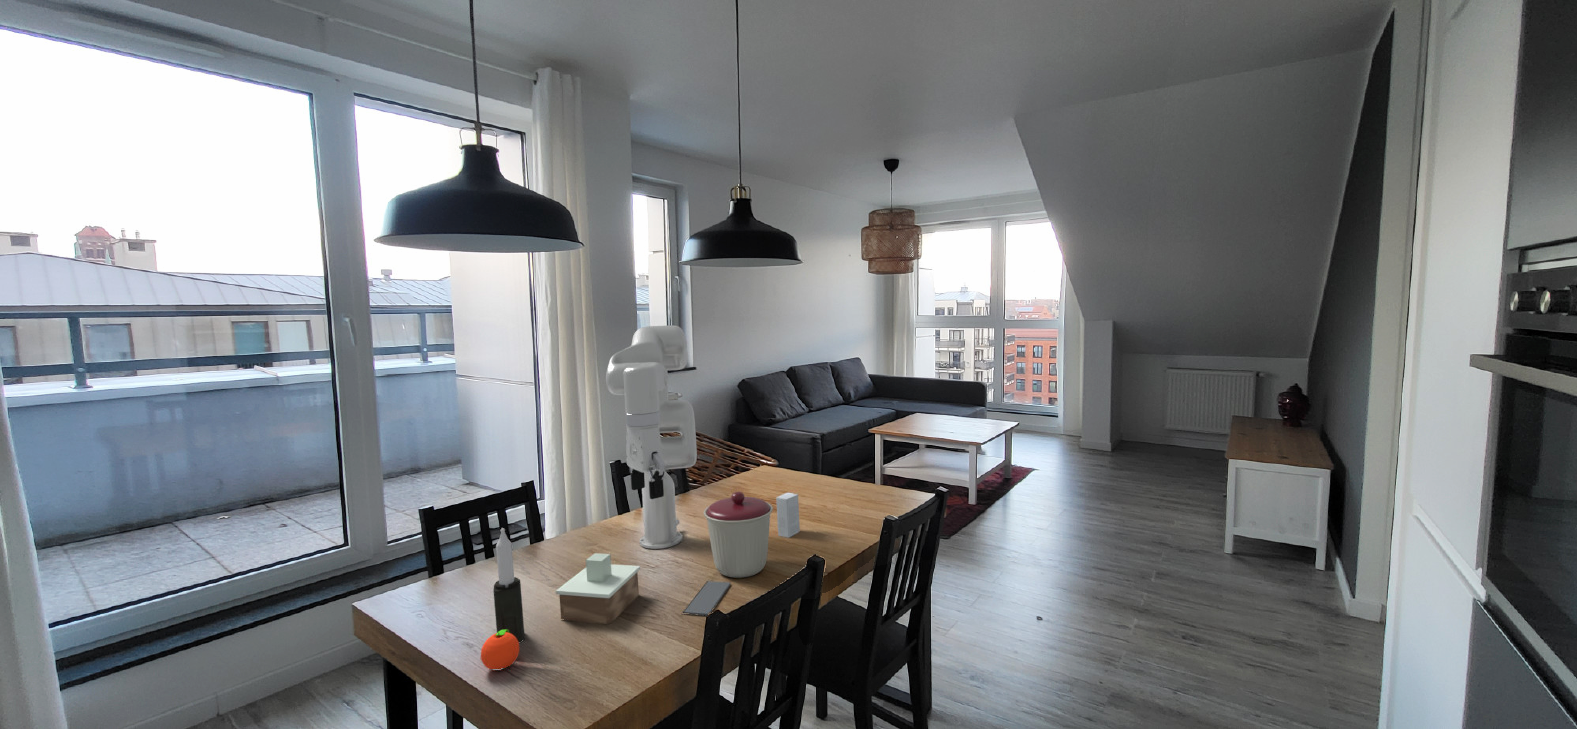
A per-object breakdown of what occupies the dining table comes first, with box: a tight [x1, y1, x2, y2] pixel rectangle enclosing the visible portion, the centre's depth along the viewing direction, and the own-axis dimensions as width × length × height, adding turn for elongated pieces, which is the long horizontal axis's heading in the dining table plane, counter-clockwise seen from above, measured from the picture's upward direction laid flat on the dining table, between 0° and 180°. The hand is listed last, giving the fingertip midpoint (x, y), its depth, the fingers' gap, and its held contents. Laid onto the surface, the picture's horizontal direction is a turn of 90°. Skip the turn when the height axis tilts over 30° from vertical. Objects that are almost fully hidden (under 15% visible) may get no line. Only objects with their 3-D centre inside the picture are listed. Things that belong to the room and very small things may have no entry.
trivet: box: [682, 580, 731, 617], centre depth 147 cm, size 16×16×1 cm
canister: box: [703, 491, 774, 579], centre depth 161 cm, size 18×18×21 cm
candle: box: [492, 527, 525, 643], centre depth 129 cm, size 5×5×25 cm
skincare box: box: [775, 491, 801, 539], centre depth 186 cm, size 6×4×12 cm
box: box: [558, 571, 640, 625], centre depth 142 cm, size 14×12×7 cm
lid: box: [555, 552, 641, 598], centre depth 142 cm, size 15×13×7 cm
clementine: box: [480, 629, 520, 670], centre depth 121 cm, size 8×7×7 cm
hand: (647, 493), depth 141 cm, fingers open, 9 cm apart
